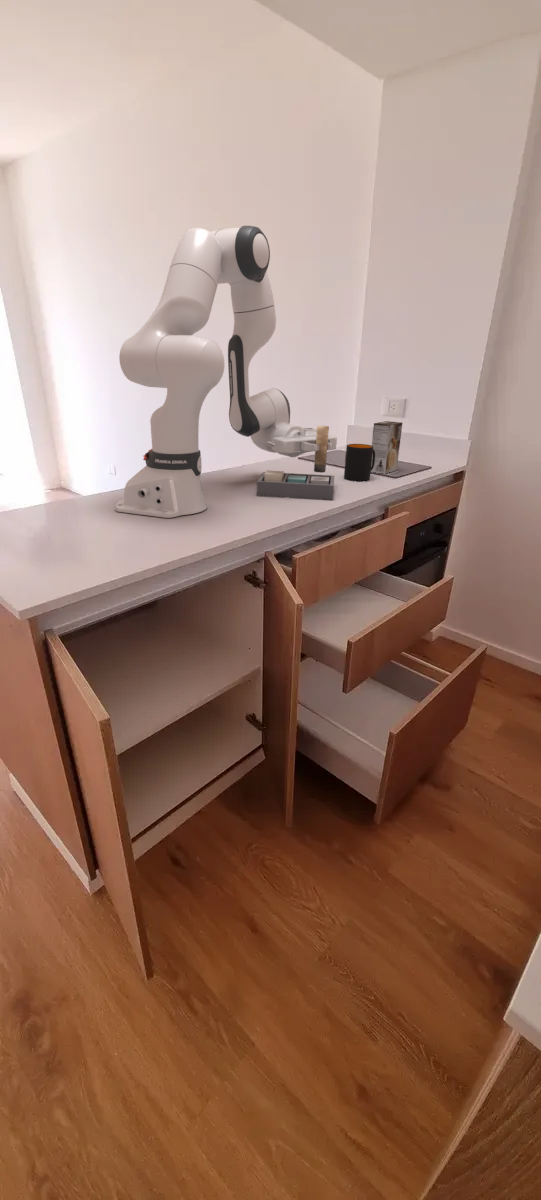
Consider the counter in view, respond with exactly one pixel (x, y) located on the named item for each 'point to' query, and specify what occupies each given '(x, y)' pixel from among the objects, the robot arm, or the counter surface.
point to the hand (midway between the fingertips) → (323, 447)
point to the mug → (359, 462)
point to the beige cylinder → (321, 449)
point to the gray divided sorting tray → (296, 488)
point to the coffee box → (386, 446)
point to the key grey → (319, 480)
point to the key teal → (296, 479)
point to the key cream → (274, 476)
